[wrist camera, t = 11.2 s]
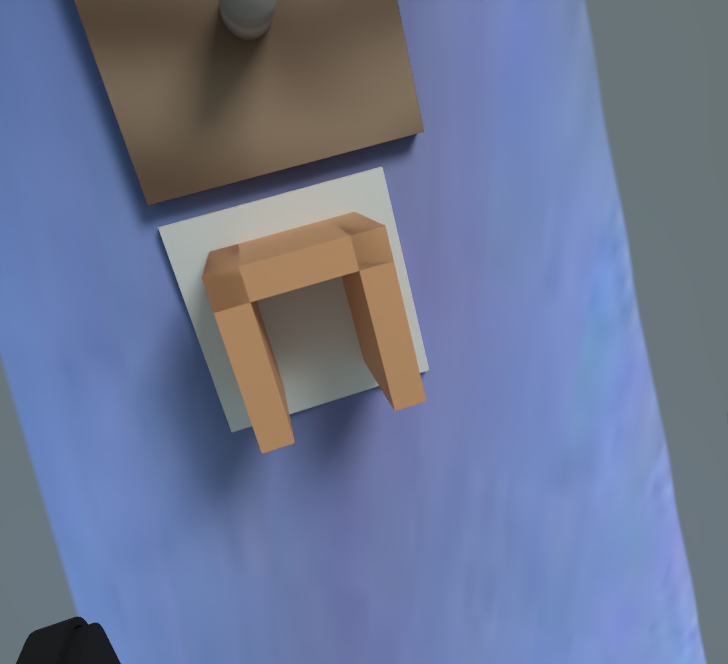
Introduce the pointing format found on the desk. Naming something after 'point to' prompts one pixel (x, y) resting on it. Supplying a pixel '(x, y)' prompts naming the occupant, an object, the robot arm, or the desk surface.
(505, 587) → the desk surface
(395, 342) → the c link
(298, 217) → the pad
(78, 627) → the robot arm
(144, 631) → the desk surface
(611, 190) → the desk surface
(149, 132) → the stand
